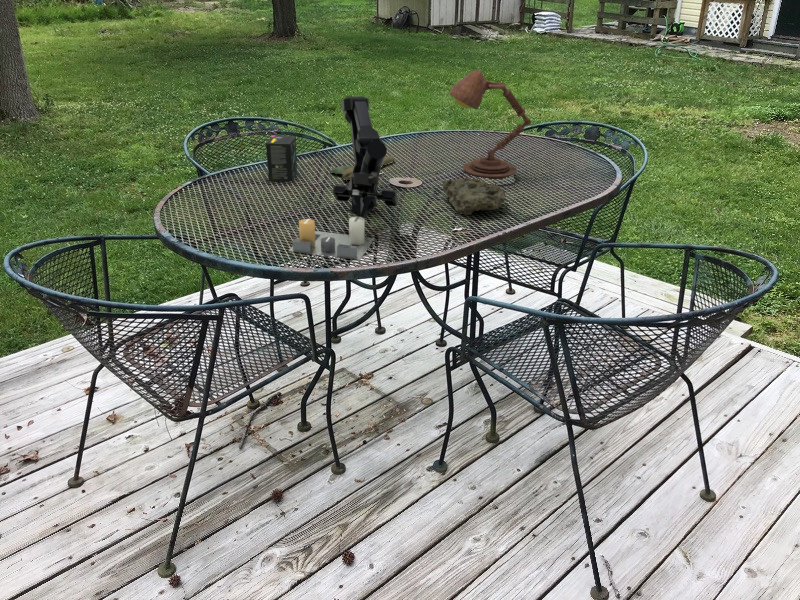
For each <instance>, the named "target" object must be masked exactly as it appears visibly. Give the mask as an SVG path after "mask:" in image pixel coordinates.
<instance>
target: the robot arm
mask: <svg viewBox="0 0 800 600" xmlns="http://www.w3.org/2000/svg"><path fill="white" fill-rule="evenodd" d="M369 111H370V99H369V98H368V97H365V96H345V97H344V98H343V99H341V112H343V115H344V119H345V120H346V121H347V123H348V124H349V125H350V134H351V143H352V151H353V159H354V166H355V167H354V169H353V172H352V175H351V177H350V181H348V185H347V184H346V185H345V184H335V185H334V186H333V188H332V194H333V196H334V198H335V200H336V201H337V202H348V201H350V199H351V207H350V208H348V209H349V211H350V212H353V213H356V214H357V216H358V217H362V218H364V219H366V217H367V216H368V215H369V214H370V213H373V212H375V211H374V209H375V210H376V208H377V207H378V206H379V205H378V203H379V202H378V201H379V200H380V201H384V204H385V205H386V207H397V206H398V202H399V201H398V199H399V198H398V195H397V192H396V190H395V189H387V188H383V189H382V190H381V192H378V186H379V180H380V174H381V170H382V169H381V168H382V167H381V165H382V164H383V161H384V158H385V157H387V156H386V155H387V151H388V149H387V146H386V144H385V143H384V142H383V139H382V138H381V137H380V135H379V132H378V131H377V130H376V129H374V128H373V125H372V119H371V116H370V112H369ZM372 211H373V212H372ZM376 211H377V210H376Z"/></svg>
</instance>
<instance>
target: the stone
mask: <svg viewBox="0 0 800 600" xmlns="http://www.w3.org/2000/svg"><path fill="white" fill-rule="evenodd" d="M442 187H443V188H442V190H443V193H445V195H446V197H448V198H449V199H448V201H449V203H450V205H452V207H453V208H454V210H455V211H456V212H457V214H460V213H462V214H469V215H471V214H473V213H472V212H475V211H477V212H479V211H482V212H483V211H484V210H486V211H485V212H488V211H487V210H490V211H494V210H497V209H499V208H500V207H501V206H502V204H503V203H504V202H505V201H506V196H505V195H506V192H505V191H503V189H502V188H501V186H498V185H496V184H495V185H491V184H486V183H484V182H481V181H480V180H478V179H471V178H464V179H463V178H456V179H452V180H448V179H443V180H442ZM470 213H471V214H470Z"/></svg>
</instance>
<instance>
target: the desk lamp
mask: <svg viewBox="0 0 800 600" xmlns="http://www.w3.org/2000/svg"><path fill="white" fill-rule="evenodd" d="M486 79H487V78H486V77H485V76H484V75H483V72H482V70H479V69H476V70H473V71H471V72H469V73H468V74H467V75H465V76H464V77H462V79H460V80H458V81H457V82H455V84H454V85H453V86H452V87H451V89H450V91H449V95H450V96H451V97H453V99H454V101H455V103H456V104H457V106H459V107H461V108H463V109H471V108H472V109H474V110H477V109H478V108H479V107H480V106H481V103H482V100H483V95H484V94H485V93H486V91H488V90H502V91H503V92H502V96H503V97H504V98H505V99H506V101H507V102H508V103H509V104H510V106H511V108H512V109H513V111H514V112H515V113H516V116H517V117H521V118H522V119H523V123H522V124H520V123H519V124H517V125H516V126H515V128H513V129H512V130H511V131H509V133H507V134H506V135H505V136H504V137H503V138H501V139H500V141H498V142H496V145H495V147H494V148H493V149H489V150H488V152H487V156H484V157H480V158H475V159H473V160H472V161H468V162H466V163H464V164H463V165H462V169H463V171H465V172H466V173H467V174H469V175H472V176H477V177H481V178H482V177H483V178H489V179H503V178H506V177H509V176H511V175H513V174H515V175H516V173H517V171H518V169H517V167H516V166H514V165H512V164H509V163H508V162H507V161H506V160H502V159H500V158H498V157H495V154H496V152H497V151H498V150H504V148H505V147H506V146H507V145H509V143H511V142H512V141H513V140H514V139H515V138H517V137H518V136H519V135H520V134H521V133H523V132H524V131H525V129H524V128H525V127H526V126H527V127H528V126H530V125H531V124H532V120H531V119H530V118H528V117H527V115H526V109H525V108H523V106H522V105H521V104H520V103H519V100H518V98H517V97H516V96H515V95H514V93H512V92H513V91H512V90H511V88H508V89H507V85H506V84H505V83H504V82H503V81H491V80H486Z"/></svg>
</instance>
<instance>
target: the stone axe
mask: <svg viewBox="0 0 800 600" xmlns="http://www.w3.org/2000/svg"><path fill="white" fill-rule="evenodd" d="M395 159H396V158H395V157H394V156H392V155H389V156H385V158H384V161H383V164H382V165H381V166H383V165H385V164H388V163H390V162H392V161H394V160H395ZM394 162H395V161H394ZM354 167H355V165H340V166H337V167H334V168H331V169H330V171H331V172H330V174H332V173H335V174H334V175H337V174H343V175H341V177H342V179H343V180H344V179H345V180H350V177H351V175H352V172H353V169H354ZM383 167H384V166H383ZM345 180H344V181H345Z"/></svg>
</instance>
